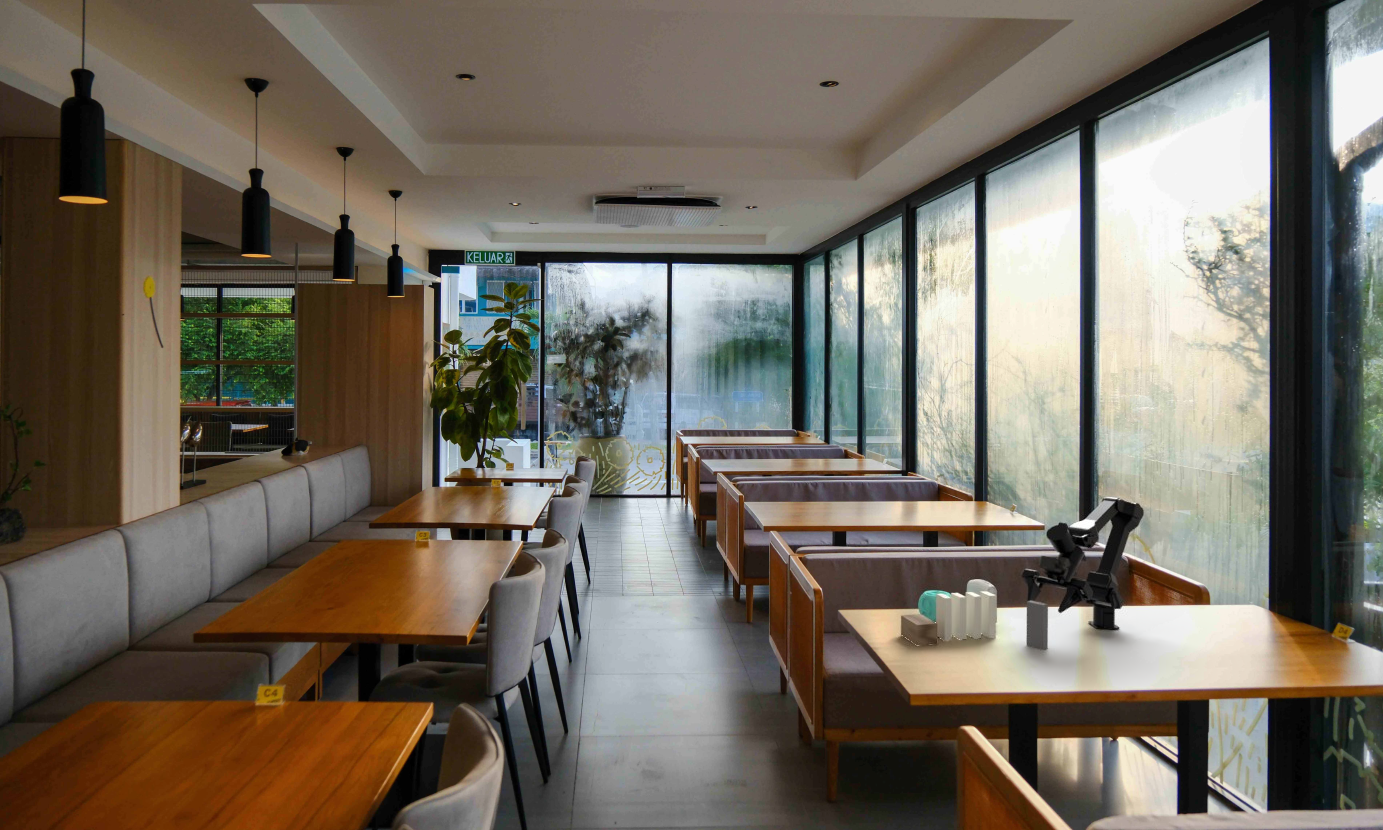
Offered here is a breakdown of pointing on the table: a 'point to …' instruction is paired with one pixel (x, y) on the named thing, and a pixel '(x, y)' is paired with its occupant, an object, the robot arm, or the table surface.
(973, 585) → the white rounded block
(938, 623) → the ivory domino
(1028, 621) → the charcoal domino
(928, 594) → the decorative dice
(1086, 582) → the robot arm
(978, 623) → the ivory domino
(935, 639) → the walnut end block
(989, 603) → the ivory domino
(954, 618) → the ivory domino
